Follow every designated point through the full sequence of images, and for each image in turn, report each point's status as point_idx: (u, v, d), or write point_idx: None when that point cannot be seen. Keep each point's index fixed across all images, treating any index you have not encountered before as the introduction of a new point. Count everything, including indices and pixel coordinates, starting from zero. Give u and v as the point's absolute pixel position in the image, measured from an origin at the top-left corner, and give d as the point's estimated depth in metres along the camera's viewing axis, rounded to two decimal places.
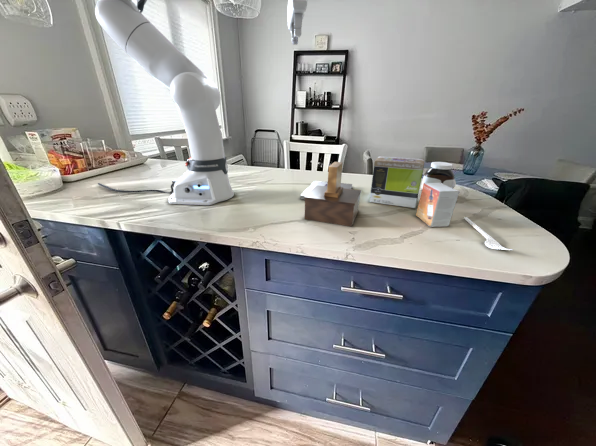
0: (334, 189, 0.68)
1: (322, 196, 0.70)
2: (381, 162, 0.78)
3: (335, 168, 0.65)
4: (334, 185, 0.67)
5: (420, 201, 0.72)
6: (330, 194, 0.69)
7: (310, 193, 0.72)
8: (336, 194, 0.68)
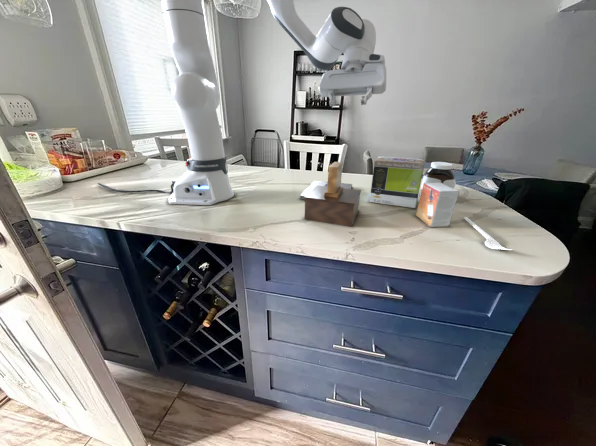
0: (334, 189, 0.68)
1: (322, 196, 0.70)
2: (381, 162, 0.78)
3: (335, 168, 0.65)
4: (334, 185, 0.67)
5: (420, 201, 0.72)
6: (330, 194, 0.69)
7: (310, 193, 0.72)
8: (336, 194, 0.68)
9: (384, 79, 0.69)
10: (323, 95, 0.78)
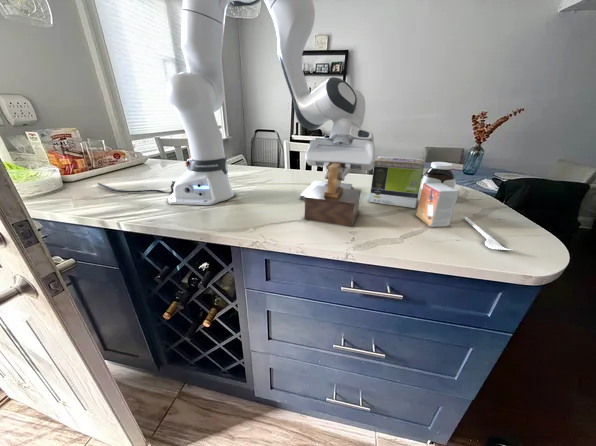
0: (334, 189, 0.68)
1: (322, 196, 0.70)
2: (381, 162, 0.78)
3: (335, 168, 0.65)
4: (334, 185, 0.67)
5: (420, 201, 0.72)
6: (330, 194, 0.69)
7: (310, 193, 0.72)
8: (336, 194, 0.68)
9: (372, 159, 0.67)
10: (310, 164, 0.75)
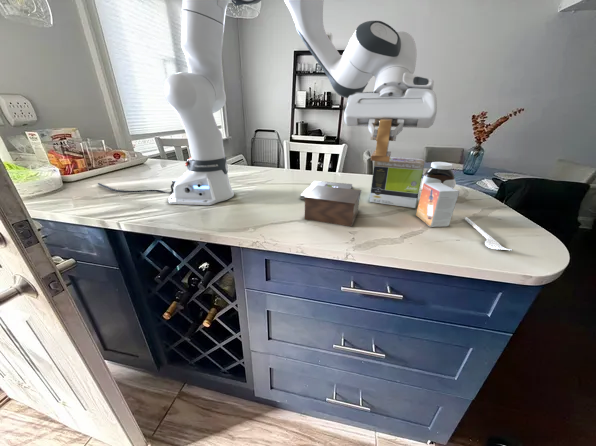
0: (385, 150, 0.54)
1: (322, 196, 0.70)
2: (381, 162, 0.78)
3: (389, 121, 0.51)
4: (385, 145, 0.53)
5: (420, 201, 0.72)
6: (379, 157, 0.55)
7: (310, 193, 0.72)
8: (387, 157, 0.54)
9: (435, 111, 0.52)
10: (349, 124, 0.60)
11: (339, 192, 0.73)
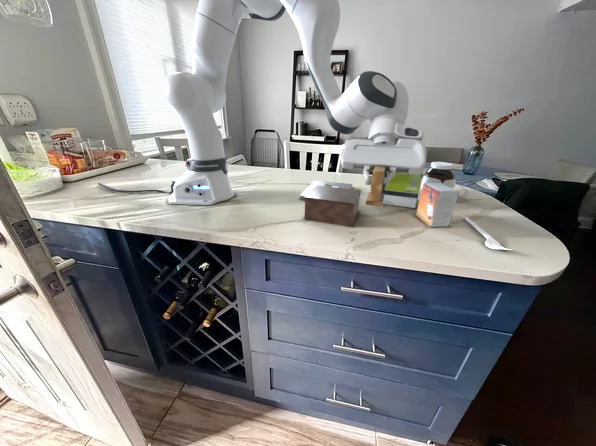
0: (378, 197, 0.58)
1: (322, 196, 0.70)
2: None
3: (381, 172, 0.56)
4: (379, 192, 0.58)
5: (420, 201, 0.72)
6: (373, 202, 0.59)
7: (310, 193, 0.72)
8: (380, 202, 0.59)
9: (424, 161, 0.57)
10: (346, 167, 0.65)
11: (339, 192, 0.73)
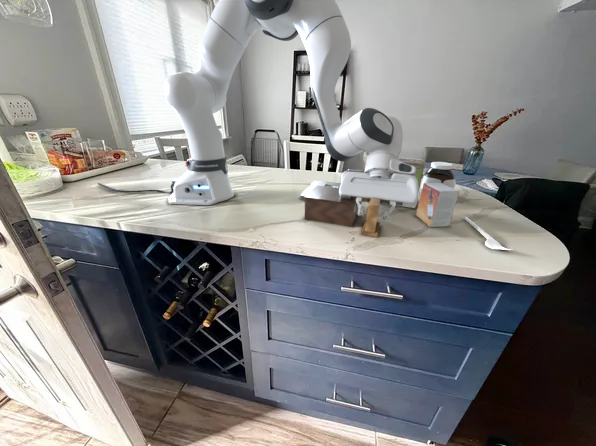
0: (374, 228, 0.62)
1: (322, 196, 0.70)
2: None
3: (376, 206, 0.59)
4: (374, 224, 0.61)
5: (420, 201, 0.72)
6: (369, 233, 0.63)
7: (310, 193, 0.72)
8: (375, 233, 0.62)
9: (416, 196, 0.61)
10: None
11: None
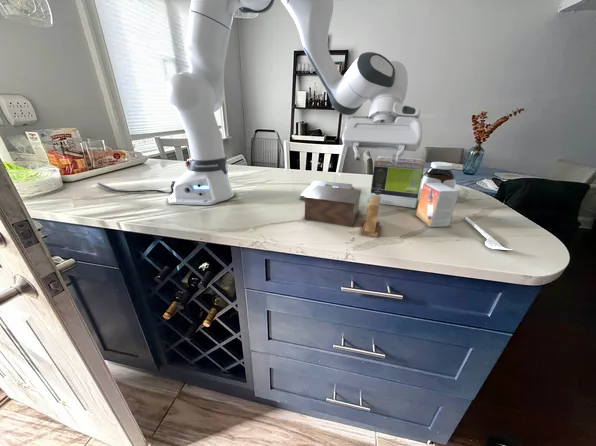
0: (374, 228, 0.62)
1: (322, 196, 0.70)
2: (381, 162, 0.78)
3: (376, 206, 0.59)
4: (374, 224, 0.61)
5: (420, 201, 0.72)
6: (369, 233, 0.63)
7: (310, 193, 0.72)
8: (375, 233, 0.62)
9: (419, 138, 0.61)
10: (346, 145, 0.69)
11: (339, 192, 0.73)
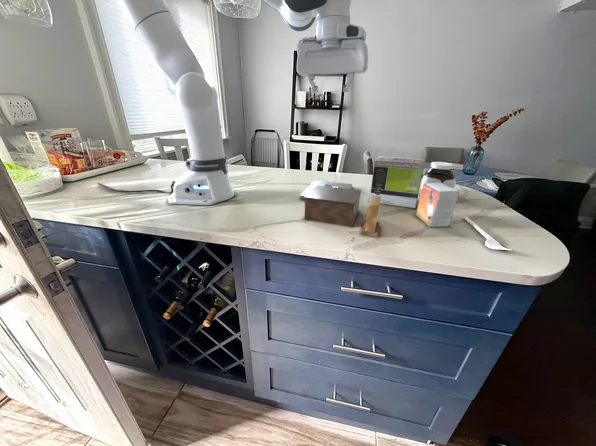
0: (374, 228, 0.62)
1: (322, 196, 0.70)
2: (381, 162, 0.78)
3: (376, 206, 0.59)
4: (374, 224, 0.61)
5: (420, 201, 0.72)
6: (369, 233, 0.63)
7: (310, 193, 0.72)
8: (375, 233, 0.62)
9: (364, 64, 0.65)
10: (303, 75, 0.74)
11: (339, 192, 0.73)
